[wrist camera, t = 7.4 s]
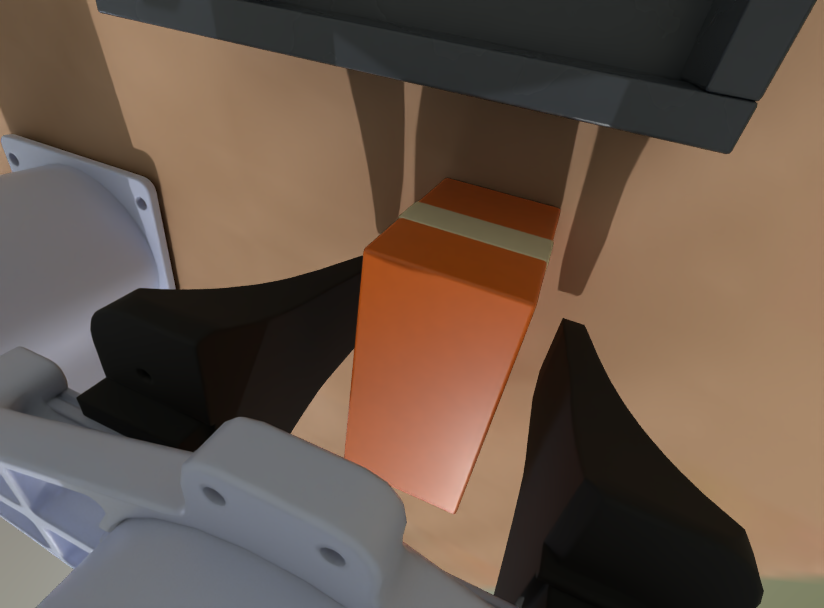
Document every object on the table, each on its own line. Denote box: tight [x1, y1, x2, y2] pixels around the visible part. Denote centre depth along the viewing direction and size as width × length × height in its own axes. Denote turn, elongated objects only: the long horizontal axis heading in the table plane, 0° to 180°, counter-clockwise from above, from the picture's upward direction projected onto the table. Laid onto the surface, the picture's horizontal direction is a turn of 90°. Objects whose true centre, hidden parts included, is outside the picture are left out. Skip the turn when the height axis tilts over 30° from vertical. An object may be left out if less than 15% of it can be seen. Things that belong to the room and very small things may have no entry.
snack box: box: [344, 178, 560, 514], centre depth 12 cm, size 7×3×5 cm, turn 172°
